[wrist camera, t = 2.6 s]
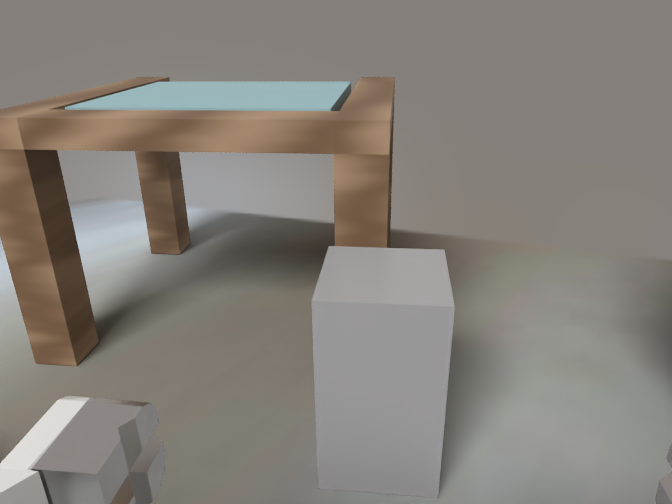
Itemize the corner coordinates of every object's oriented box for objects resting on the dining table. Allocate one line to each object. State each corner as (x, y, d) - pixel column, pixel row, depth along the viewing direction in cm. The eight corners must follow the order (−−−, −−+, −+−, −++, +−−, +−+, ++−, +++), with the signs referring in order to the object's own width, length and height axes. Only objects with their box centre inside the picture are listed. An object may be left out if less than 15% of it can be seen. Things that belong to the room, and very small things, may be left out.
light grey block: (317, 488, 23) (311, 300, 19) (331, 409, 27) (328, 246, 24) (438, 498, 22) (454, 306, 19) (431, 416, 27) (444, 249, 23)
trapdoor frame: (35, 363, 31) (-33, 117, 26) (163, 242, 48) (138, 77, 42) (382, 383, 29) (390, 120, 24) (389, 249, 46) (394, 76, 40)
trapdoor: (68, 126, 29) (64, 107, 28) (160, 95, 40) (158, 81, 39) (330, 129, 27) (330, 108, 27) (351, 96, 38) (350, 81, 38)
